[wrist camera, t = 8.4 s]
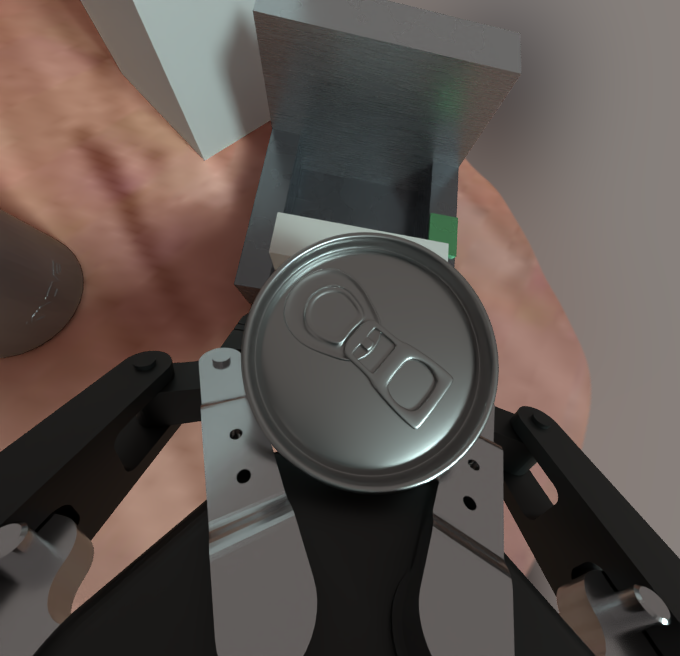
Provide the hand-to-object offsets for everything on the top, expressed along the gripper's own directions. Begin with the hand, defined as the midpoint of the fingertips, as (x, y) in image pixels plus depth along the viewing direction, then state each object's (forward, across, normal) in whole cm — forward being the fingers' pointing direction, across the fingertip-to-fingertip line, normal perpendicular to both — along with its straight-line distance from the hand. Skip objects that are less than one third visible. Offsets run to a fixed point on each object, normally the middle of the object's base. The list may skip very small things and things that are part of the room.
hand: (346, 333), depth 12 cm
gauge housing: (+12, 0, -2) cm, 12 cm away
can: (+3, 0, +5) cm, 6 cm away
